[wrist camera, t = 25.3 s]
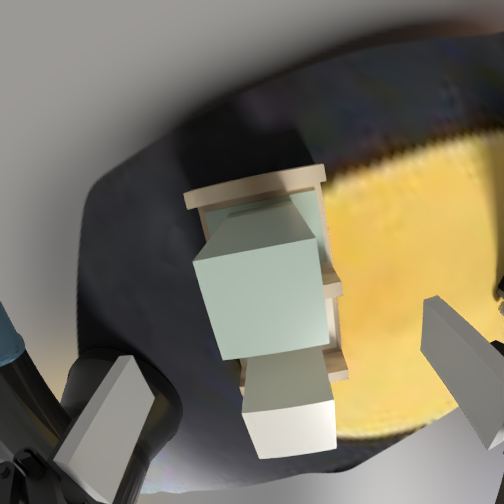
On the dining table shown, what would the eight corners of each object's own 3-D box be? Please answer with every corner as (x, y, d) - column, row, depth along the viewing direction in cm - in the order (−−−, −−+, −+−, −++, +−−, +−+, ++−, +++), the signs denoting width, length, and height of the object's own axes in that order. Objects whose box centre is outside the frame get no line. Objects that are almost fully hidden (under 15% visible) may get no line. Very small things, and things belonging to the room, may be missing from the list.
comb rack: (245, 372, 29) (242, 396, 25) (195, 189, 24) (183, 193, 20) (341, 356, 28) (348, 378, 24) (315, 164, 23) (323, 163, 19)
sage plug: (243, 271, 25) (223, 360, 13) (229, 213, 23) (192, 261, 12) (302, 260, 24) (329, 343, 13) (291, 200, 23) (315, 237, 11)
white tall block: (263, 356, 27) (259, 459, 16) (252, 312, 26) (241, 413, 14) (315, 347, 27) (336, 448, 15) (309, 302, 25) (334, 399, 14)
